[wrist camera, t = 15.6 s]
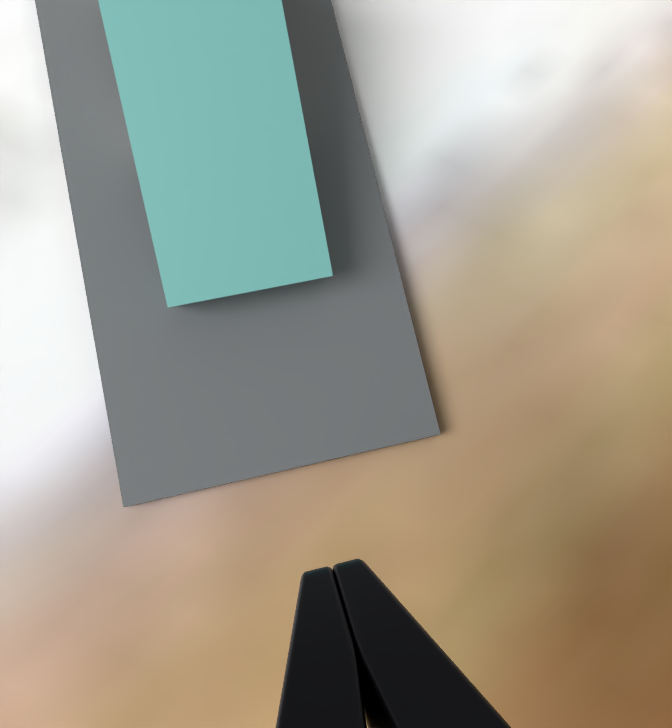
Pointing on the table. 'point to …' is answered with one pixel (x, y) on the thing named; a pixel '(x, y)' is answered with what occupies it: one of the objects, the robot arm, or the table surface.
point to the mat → (241, 311)
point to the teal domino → (218, 144)
